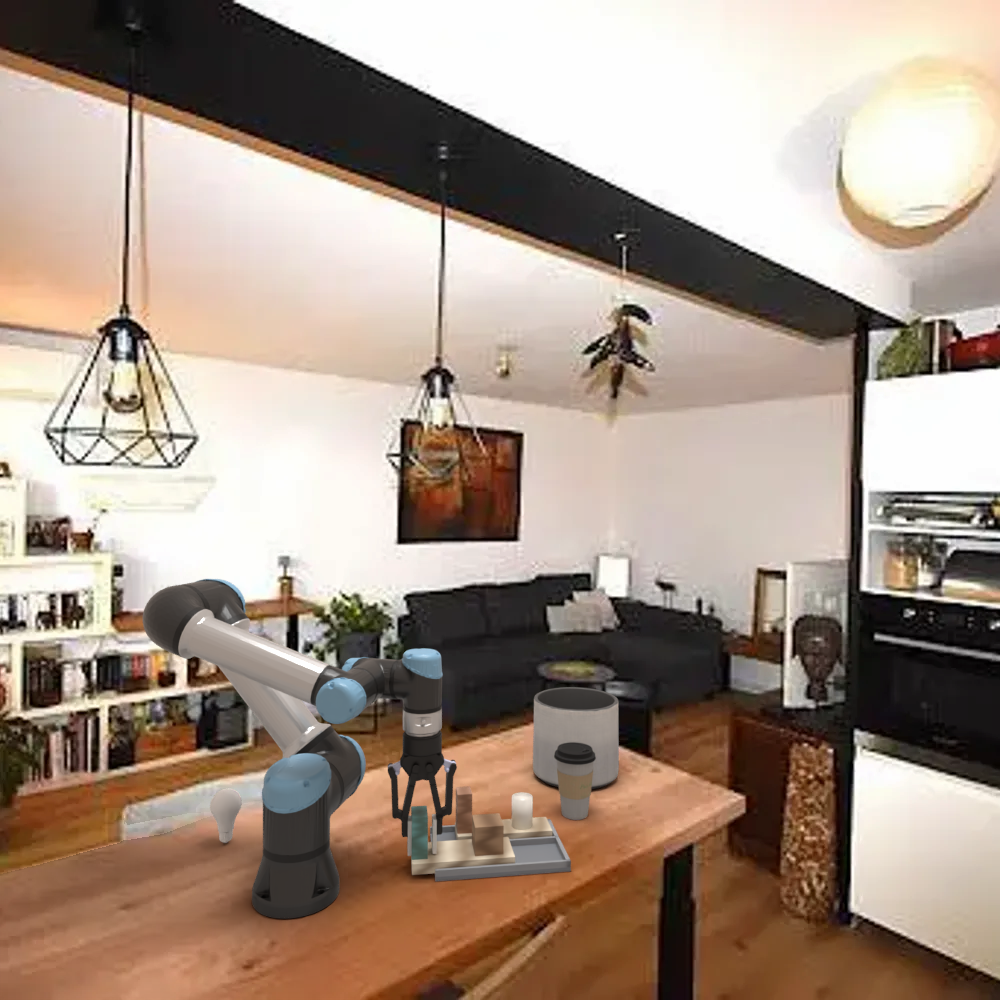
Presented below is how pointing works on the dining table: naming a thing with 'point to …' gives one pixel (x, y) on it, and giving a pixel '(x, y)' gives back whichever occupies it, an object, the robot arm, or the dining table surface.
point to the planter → (576, 730)
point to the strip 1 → (447, 849)
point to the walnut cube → (487, 834)
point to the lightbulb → (225, 811)
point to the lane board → (528, 858)
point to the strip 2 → (465, 820)
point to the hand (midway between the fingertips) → (421, 851)
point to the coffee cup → (574, 778)
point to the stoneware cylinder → (522, 811)
